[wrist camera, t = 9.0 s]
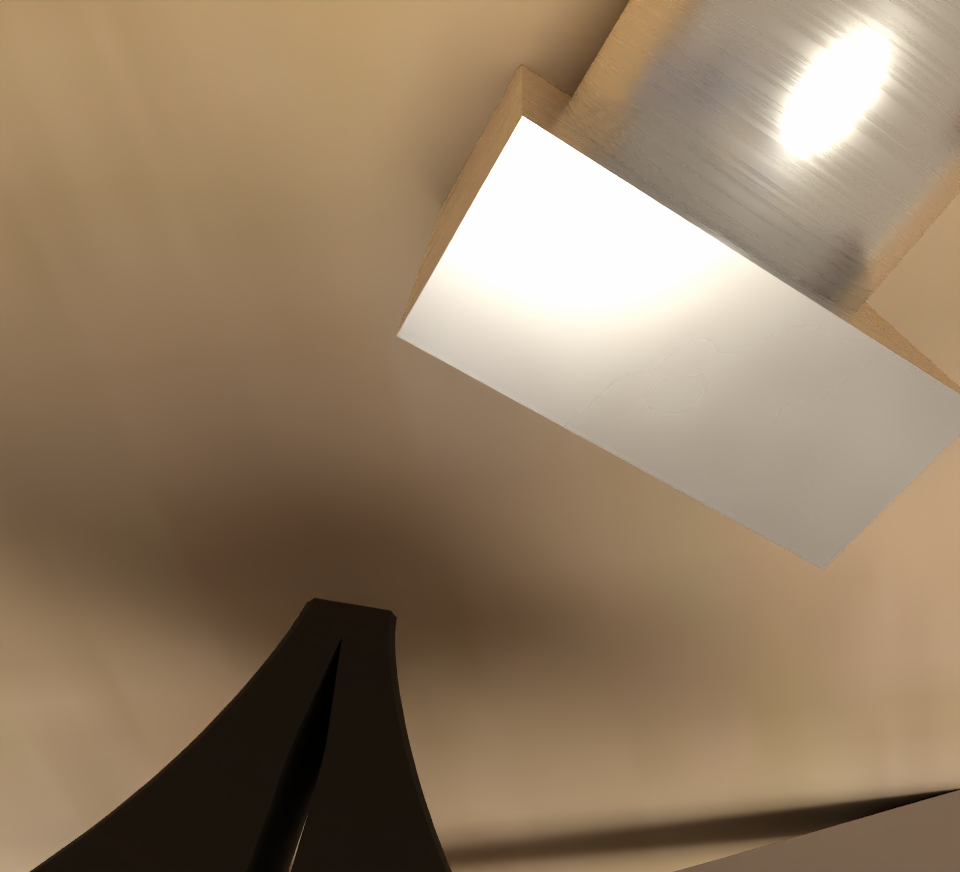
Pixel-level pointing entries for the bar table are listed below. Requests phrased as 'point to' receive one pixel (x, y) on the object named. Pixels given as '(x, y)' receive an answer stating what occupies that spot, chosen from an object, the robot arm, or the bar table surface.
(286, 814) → the robot arm
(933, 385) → the coupling
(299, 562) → the bar table surface
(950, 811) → the caliper
